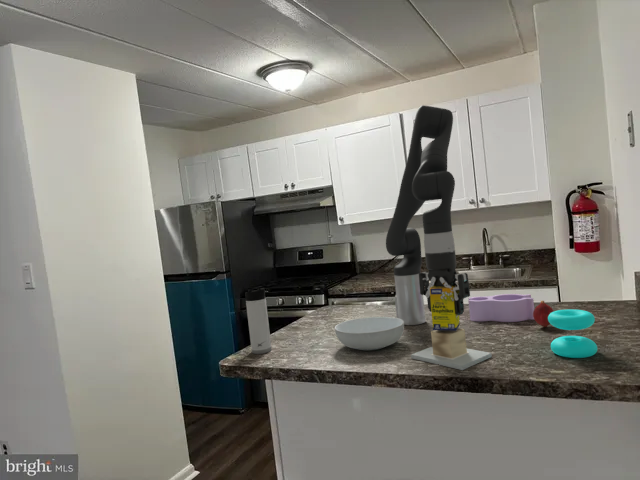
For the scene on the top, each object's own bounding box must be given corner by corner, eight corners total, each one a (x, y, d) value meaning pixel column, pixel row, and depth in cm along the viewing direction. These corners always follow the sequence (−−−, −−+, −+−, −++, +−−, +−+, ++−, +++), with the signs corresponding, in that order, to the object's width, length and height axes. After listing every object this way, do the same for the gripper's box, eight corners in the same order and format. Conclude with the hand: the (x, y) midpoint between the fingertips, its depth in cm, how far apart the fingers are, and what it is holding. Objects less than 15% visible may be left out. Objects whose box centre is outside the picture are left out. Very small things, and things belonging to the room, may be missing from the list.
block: (433, 354, 118) (430, 331, 117) (447, 348, 121) (445, 326, 121) (452, 358, 113) (449, 334, 112) (466, 352, 116) (464, 329, 116)
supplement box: (432, 330, 115) (428, 288, 115) (437, 324, 121) (433, 284, 120) (456, 331, 113) (452, 287, 112) (460, 325, 118) (456, 283, 117)
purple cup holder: (470, 323, 150) (468, 302, 149) (470, 315, 161) (468, 295, 161) (536, 321, 143) (534, 300, 143) (531, 312, 155) (529, 292, 155)
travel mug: (264, 354, 139) (256, 290, 138) (247, 353, 142) (240, 290, 142) (276, 348, 144) (269, 286, 143) (260, 347, 148) (253, 287, 147)
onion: (558, 329, 132) (556, 301, 131) (537, 330, 133) (534, 303, 132) (552, 324, 137) (550, 298, 137) (532, 325, 138) (529, 299, 138)
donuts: (597, 309, 110) (590, 318, 103) (601, 349, 111) (593, 361, 103) (552, 307, 117) (542, 316, 109) (556, 345, 117) (546, 357, 110)
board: (411, 358, 120) (411, 354, 120) (440, 347, 127) (440, 343, 127) (462, 370, 107) (461, 365, 107) (491, 356, 114) (491, 352, 114)
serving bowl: (420, 340, 136) (417, 318, 135) (377, 361, 121) (374, 335, 121) (366, 334, 150) (363, 313, 150) (322, 351, 135) (319, 329, 135)
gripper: (408, 252, 119) (415, 313, 120) (453, 251, 108) (460, 319, 109) (427, 248, 124) (433, 307, 124) (472, 247, 112) (478, 312, 113)
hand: (446, 312), depth 117 cm, fingers closed on supplement box, 8 cm apart
